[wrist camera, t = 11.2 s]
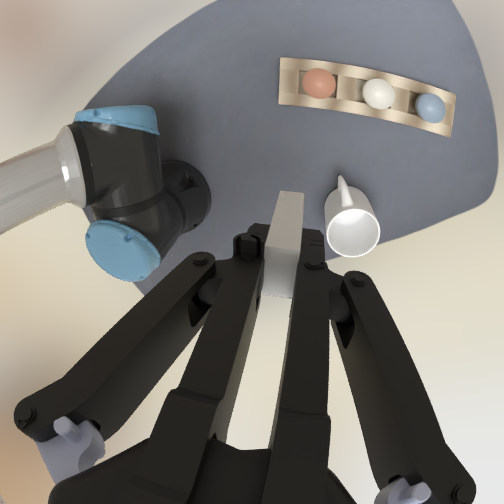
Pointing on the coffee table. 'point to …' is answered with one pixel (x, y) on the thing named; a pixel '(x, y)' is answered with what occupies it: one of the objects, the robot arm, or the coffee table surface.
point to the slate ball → (430, 107)
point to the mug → (350, 221)
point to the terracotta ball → (319, 83)
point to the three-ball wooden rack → (350, 93)
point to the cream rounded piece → (378, 93)
